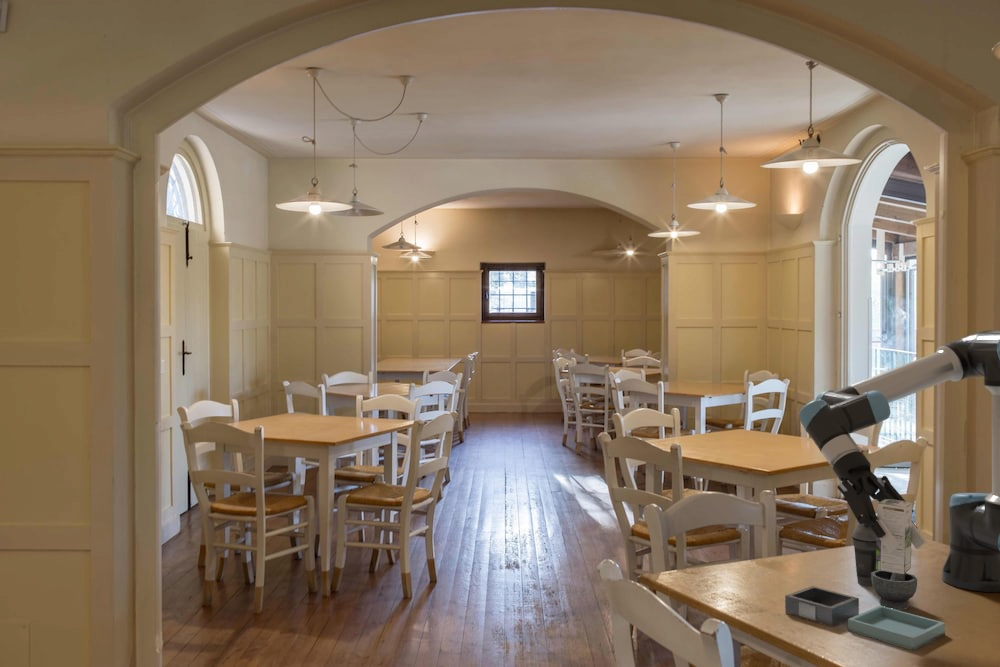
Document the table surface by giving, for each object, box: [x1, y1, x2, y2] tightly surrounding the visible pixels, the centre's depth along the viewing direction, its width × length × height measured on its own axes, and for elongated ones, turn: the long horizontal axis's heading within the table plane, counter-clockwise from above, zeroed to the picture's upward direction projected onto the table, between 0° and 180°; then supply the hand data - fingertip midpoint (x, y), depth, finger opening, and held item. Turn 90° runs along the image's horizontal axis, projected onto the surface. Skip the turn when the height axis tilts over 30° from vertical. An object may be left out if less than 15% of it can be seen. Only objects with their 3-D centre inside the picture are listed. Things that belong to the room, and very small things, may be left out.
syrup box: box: [876, 499, 913, 574], centre depth 175 cm, size 6×6×14 cm
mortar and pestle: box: [871, 570, 918, 610], centre depth 193 cm, size 11×9×12 cm
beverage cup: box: [851, 523, 877, 587], centre depth 209 cm, size 7×7×20 cm
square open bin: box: [784, 585, 860, 628], centre depth 186 cm, size 12×11×4 cm
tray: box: [847, 605, 946, 652], centre depth 175 cm, size 14×14×2 cm
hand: (908, 547), depth 172 cm, fingers closed on syrup box, 7 cm apart
